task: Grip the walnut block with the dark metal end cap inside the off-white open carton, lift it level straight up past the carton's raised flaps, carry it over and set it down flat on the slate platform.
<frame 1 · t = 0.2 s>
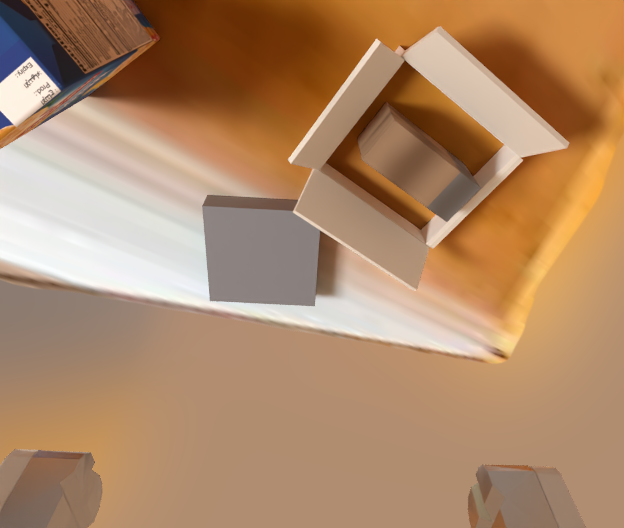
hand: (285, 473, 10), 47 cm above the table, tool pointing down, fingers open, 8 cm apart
walnut block: (416, 162, 52), in the carton
carton: (411, 151, 55), on the table
blue cardboard box: (100, 38, 49), on the table
slate platform: (264, 247, 62), on the table
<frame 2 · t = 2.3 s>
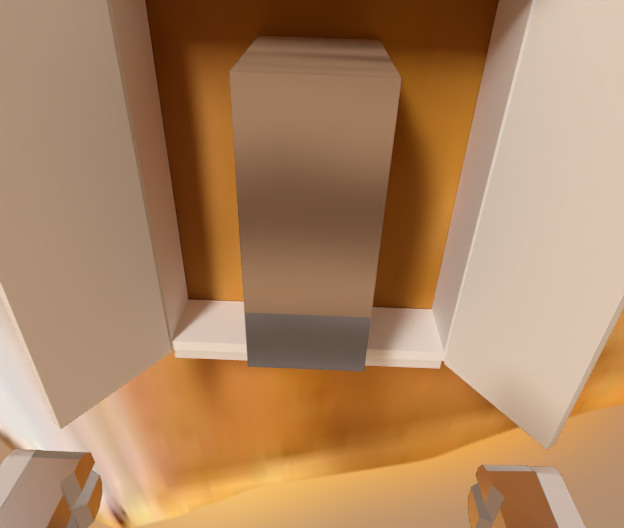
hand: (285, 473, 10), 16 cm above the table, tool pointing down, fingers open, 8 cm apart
walnut block: (312, 206, 20), in the carton
carton: (314, 174, 23), on the table
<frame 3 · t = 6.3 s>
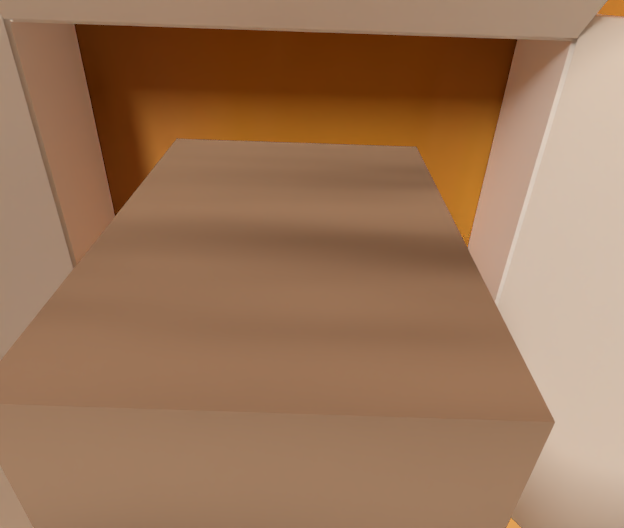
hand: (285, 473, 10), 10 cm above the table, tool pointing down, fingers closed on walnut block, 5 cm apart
walnut block: (286, 468, 10), point 10 cm above the table, touching gripper
carton: (294, 241, 19), on the table
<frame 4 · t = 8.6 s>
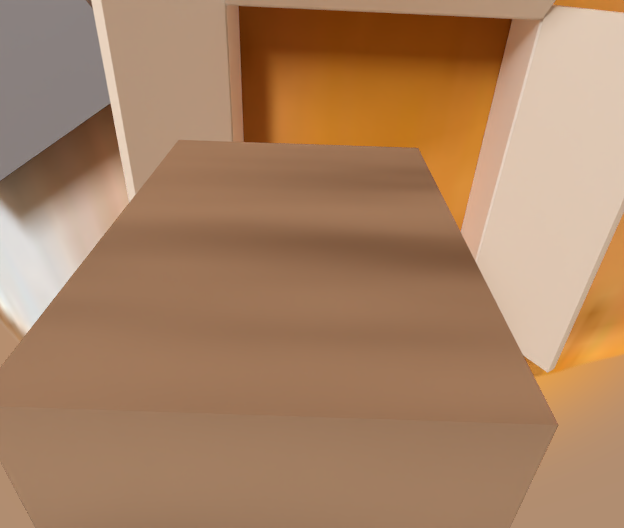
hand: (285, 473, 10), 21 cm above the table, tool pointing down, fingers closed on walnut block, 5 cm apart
walnut block: (287, 469, 10), point 21 cm above the table, touching gripper
carton: (361, 157, 28), on the table
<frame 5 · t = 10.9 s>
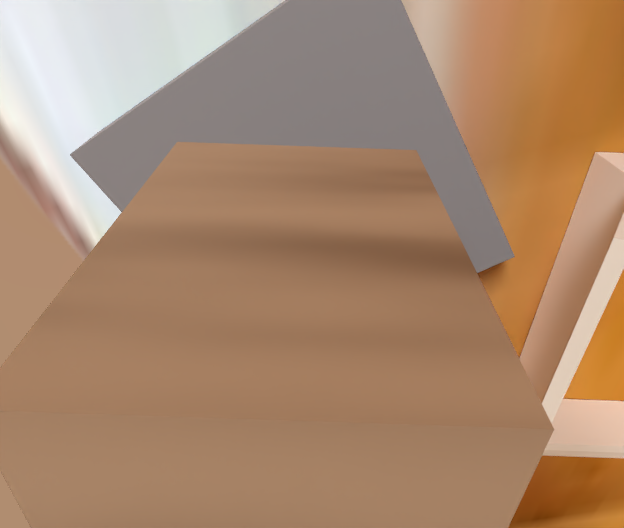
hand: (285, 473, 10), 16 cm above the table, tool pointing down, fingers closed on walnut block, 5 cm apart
walnut block: (286, 471, 10), point 16 cm above the table, touching gripper
slate platform: (306, 181, 23), on the table
when the fingers open (8 cm above the table, at t = 13.0 s): walnut block drops 1 cm, resting on slate platform.
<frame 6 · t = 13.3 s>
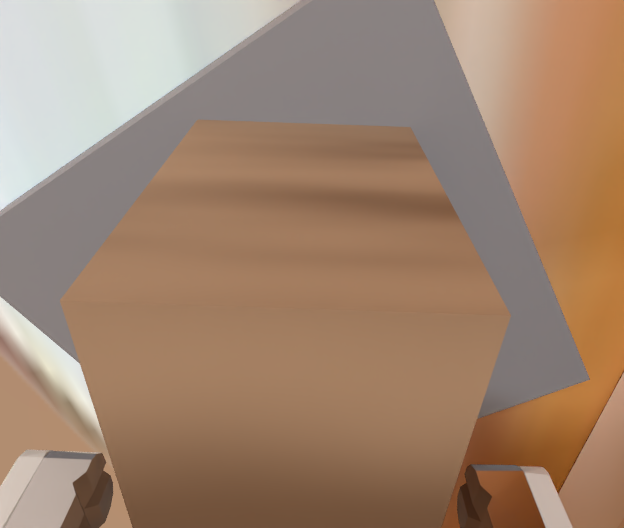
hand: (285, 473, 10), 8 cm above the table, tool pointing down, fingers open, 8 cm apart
walnut block: (294, 414, 11), on the slate platform, point 6 cm above the table
slate platform: (298, 266, 17), on the table
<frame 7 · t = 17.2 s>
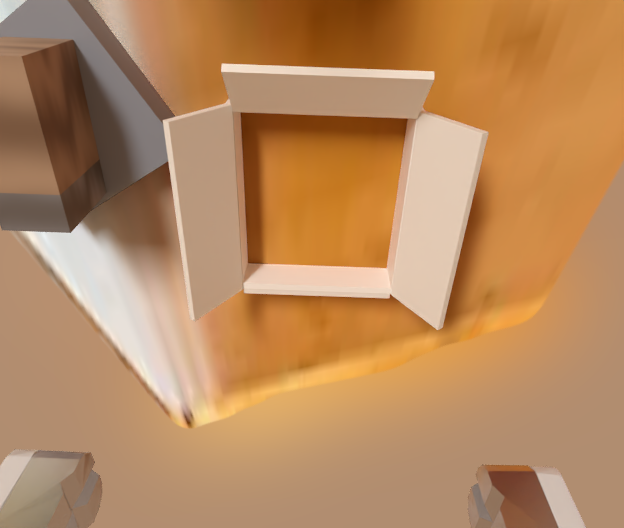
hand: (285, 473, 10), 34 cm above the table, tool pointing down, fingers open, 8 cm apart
walnut block: (37, 135, 34), on the slate platform, point 6 cm above the table
carton: (320, 192, 44), on the table
slate platform: (74, 111, 40), on the table
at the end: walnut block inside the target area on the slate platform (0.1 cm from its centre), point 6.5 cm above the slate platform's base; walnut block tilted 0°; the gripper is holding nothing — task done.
